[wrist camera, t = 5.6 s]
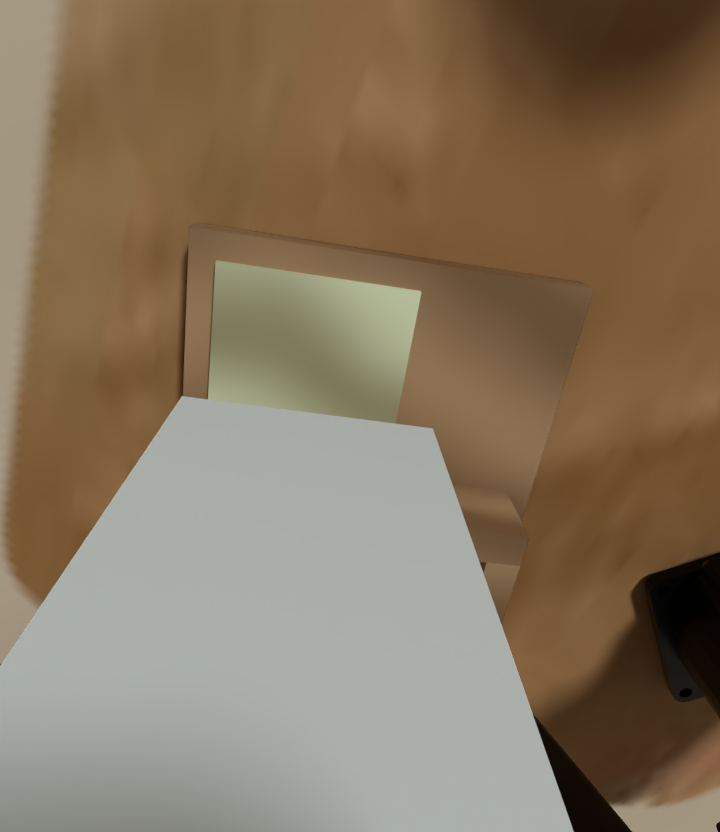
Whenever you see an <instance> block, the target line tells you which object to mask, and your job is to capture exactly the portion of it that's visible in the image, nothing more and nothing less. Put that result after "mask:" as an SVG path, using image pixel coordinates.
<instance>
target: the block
mask: <svg viewBox="0 0 720 832" xmlns="http://www.w3.org/2000/svg"><path fill="white" fill-rule="evenodd" d="M0 832H574V831H573V828H572V825H571V822H570V819H569V817H568V814H567V811H566V808H565V805H564V802H563V799H562V797H561V794H560V791H559V788H558V785H557V782H556V779H555V777H554V774H553V771H552V768H551V765H550V762H549V759H548V757H547V754H546V751H545V748H544V745H543V742H542V739H541V737H540V734H539V731H538V728H537V725H536V722H535V719H534V716H533V714H532V711H531V708H530V705H529V702H528V699H527V696H526V694H525V691H524V688H523V685H522V682H521V679H520V676H519V674H518V671H517V668H516V665H515V662H514V659H513V656H512V654H511V651H510V648H509V645H508V642H507V639H506V636H505V634H504V631H503V628H502V625H501V622H500V619H499V616H498V614H497V611H496V608H495V605H494V602H493V599H492V596H491V594H490V591H489V588H488V585H487V582H486V579H485V576H484V573H483V571H482V568H481V565H480V562H479V559H478V556H477V553H476V551H475V548H474V545H473V542H472V539H471V536H470V533H469V531H468V528H467V525H466V522H465V519H464V516H463V513H462V511H461V508H460V505H459V502H458V499H457V496H456V493H455V491H454V488H453V485H452V482H451V479H450V476H449V473H448V471H447V468H446V465H445V462H444V459H443V456H442V453H441V451H440V448H439V445H438V442H437V439H436V436H435V433H434V430H433V428H426V427H418V426H410V425H402V424H395V423H387V422H379V421H371V420H364V419H356V418H348V417H340V416H333V415H325V414H317V413H309V412H301V411H294V410H286V409H278V408H270V407H263V406H255V405H247V404H239V403H232V402H224V401H216V400H208V399H201V398H193V397H185V396H182V397H181V398H180V400H179V401H178V403H177V404H176V406H175V407H174V409H173V410H172V412H171V413H170V415H169V416H168V418H167V419H166V421H165V422H164V424H163V425H162V427H161V428H160V430H159V431H158V433H157V434H156V435H155V437H154V438H153V440H152V441H151V443H150V444H149V446H148V447H147V449H146V450H145V452H144V453H143V455H142V456H141V458H140V459H139V461H138V462H137V464H136V465H135V467H134V468H133V470H132V471H131V473H130V474H129V476H128V477H127V479H126V480H125V481H124V483H123V484H122V486H121V487H120V489H119V490H118V492H117V493H116V495H115V496H114V498H113V499H112V501H111V502H110V504H109V505H108V507H107V508H106V510H105V511H104V513H103V514H102V516H101V517H100V519H99V520H98V522H97V523H96V524H95V526H94V527H93V529H92V530H91V532H90V533H89V535H88V536H87V538H86V539H85V541H84V542H83V544H82V545H81V547H80V548H79V550H78V551H77V553H76V554H75V556H74V557H73V559H72V560H71V562H70V563H69V565H68V566H67V568H66V569H65V570H64V572H63V573H62V575H61V576H60V578H59V579H58V581H57V582H56V584H55V585H54V587H53V588H52V590H51V591H50V593H49V594H48V596H47V597H46V599H45V600H44V602H43V603H42V605H41V606H40V608H39V609H38V611H37V612H36V614H35V615H34V617H33V618H32V619H31V621H30V622H29V624H28V625H27V627H26V628H25V630H24V631H23V633H22V634H21V636H20V637H19V639H18V640H17V642H16V643H15V645H14V646H13V648H12V649H11V651H10V652H9V654H8V655H7V657H6V658H5V660H4V661H3V663H2V664H1V665H0Z"/></svg>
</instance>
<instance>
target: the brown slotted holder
mask: <svg viewBox="0 0 720 832" xmlns="http://www.w3.org/2000/svg"><path fill="white" fill-rule="evenodd" d="M593 292H594V289H593V288H591V287H589V286H587V285H585V284H583V283H581V282H576V281H569V280H563V279H557V278H550V277H544V276H537V275H531V274H524V273H518V272H512V271H505V270H499V269H492V268H486V267H479V266H473V265H467V264H460V263H454V262H447V261H441V260H434V259H428V258H421V257H415V256H409V255H402V254H396V253H389V252H383V251H376V250H370V249H364V248H357V247H351V246H344V245H338V244H331V243H325V242H319V241H312V240H306V239H299V238H293V237H286V236H280V235H273V234H267V233H261V232H254V231H248V230H241V229H235V228H228V227H222V226H216V225H209V224H203V223H196V224H194V225H191V226H189V245H188V272H187V299H186V326H185V353H184V380H183V396H185V397H193V398H201V399H208V400H216V401H224V402H232V403H239V404H247V405H255V406H263V407H270V408H278V409H286V410H294V411H301V412H309V413H317V414H325V415H333V416H340V417H348V418H356V419H364V420H371V421H379V422H387V423H395V424H402V425H410V426H418V427H426V428H433V430H434V433H435V436H436V439H437V442H438V445H439V448H440V451H441V453H442V456H443V459H444V462H445V465H446V468H447V471H448V473H449V476H450V479H451V482H452V485H453V488H454V491H455V493H456V496H457V499H458V502H459V505H460V508H461V511H462V513H463V516H464V519H465V522H466V525H467V528H468V531H469V533H470V536H471V539H472V542H473V545H474V548H475V551H476V553H477V556H478V559H479V562H480V565H481V568H482V571H483V573H484V576H485V579H486V582H487V585H488V588H489V591H490V594H491V596H492V599H493V602H494V605H495V608H496V611H497V614H498V616H499V619H500V622H501V624H502V621H503V618H504V615H505V612H506V609H507V606H508V603H509V600H510V597H511V594H512V591H513V587H514V584H515V581H516V578H517V575H518V572H519V569H520V566H521V563H522V560H523V557H524V554H525V550H526V547H527V544H528V541H529V538H530V537H529V535H528V533H527V531H526V529H525V527H524V525H523V523H522V518H523V515H524V512H525V508H526V505H527V502H528V499H529V496H530V492H531V489H532V486H533V483H534V480H535V477H536V473H537V470H538V467H539V464H540V461H541V457H542V454H543V451H544V448H545V445H546V441H547V438H548V435H549V432H550V429H551V426H552V422H553V419H554V416H555V413H556V410H557V406H558V403H559V400H560V397H561V394H562V390H563V387H564V384H565V381H566V378H567V375H568V371H569V368H570V365H571V362H572V359H573V355H574V352H575V349H576V346H577V343H578V339H579V336H580V333H581V330H582V327H583V323H584V320H585V317H586V314H587V311H588V308H589V304H590V301H591V298H592V295H593Z"/></svg>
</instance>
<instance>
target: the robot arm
mask: <svg viewBox="0 0 720 832" xmlns="http://www.w3.org/2000/svg"><path fill="white" fill-rule="evenodd" d="M662 586H663V588H661V589H659V588H660V587H662ZM645 592H646V596H647V600H648V605H649V609H650V613H651V618H652V622H653V626H654V630H655V635H656V639H657V643H658V648H659V652H660V656H661V660H662V665H663V669H664V673H665V677H666V682H667V686H668V689H669V691H670V692H671V694H672V696H673V697H674V699H675V700H677V701H679V702H686V701H690V700H694V699H697V698H701V697H704V696H705V698H706V699H707V700H708V702H709V703H710V705H711V706H712V708H713V709H714V711H715V712H716V714H717V715H718V717H719V718H720V554H718V555H714V556H711V557H708V558H705V559H702V560H699V561H696V562H692V563H689V564H686V565H683V566H680V567H677V568H673V569H670V570H667V571H664V572H661V573H658V574H655V575H653V576H651V577H650V578H649V579H648V580H647V581H646V583H645ZM1 664H2V663H1ZM1 664H0V665H1ZM532 714H533V713H532ZM533 716H534V714H533ZM534 719H535V722H536V725H537V728H538V731H539V734H540V737H541V739H542V742H543V745H544V748H545V751H546V754H547V757H548V759H549V762H550V765H551V768H552V771H553V774H554V777H555V779H556V782H557V785H558V788H559V791H560V794H561V797H562V799H563V802H564V805H565V808H566V811H567V814H568V817H569V819H570V822H571V825H572V828H573V831H574V832H632V831H631V830H630V829H629V828H628V826H627V825H626V824H625V823H624V822H623V820H622V819H621V818H620V817H619V816H618V815H617V813H616V812H615V811H614V810H613V809H612V807H611V806H610V805H609V804H608V803H607V801H606V800H605V799H604V798H603V797H602V795H601V794H600V793H599V792H598V791H597V789H596V788H595V787H594V786H593V785H592V783H591V782H590V781H589V780H588V779H587V778H586V776H585V775H584V774H583V773H582V772H581V770H580V769H579V768H578V767H577V766H576V764H575V763H574V762H573V761H572V760H571V758H570V757H569V756H568V755H567V754H566V753H565V751H564V750H563V749H562V748H561V747H560V745H559V744H558V743H557V742H556V741H555V739H554V738H553V737H552V736H551V735H550V733H549V732H548V731H547V730H546V729H545V728H544V726H543V725H542V724H541V723H540V722H539V720H538V719H537V718H536V717H535V716H534ZM716 827H717V830H718V832H720V822H719V823H717V825H716Z"/></svg>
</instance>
